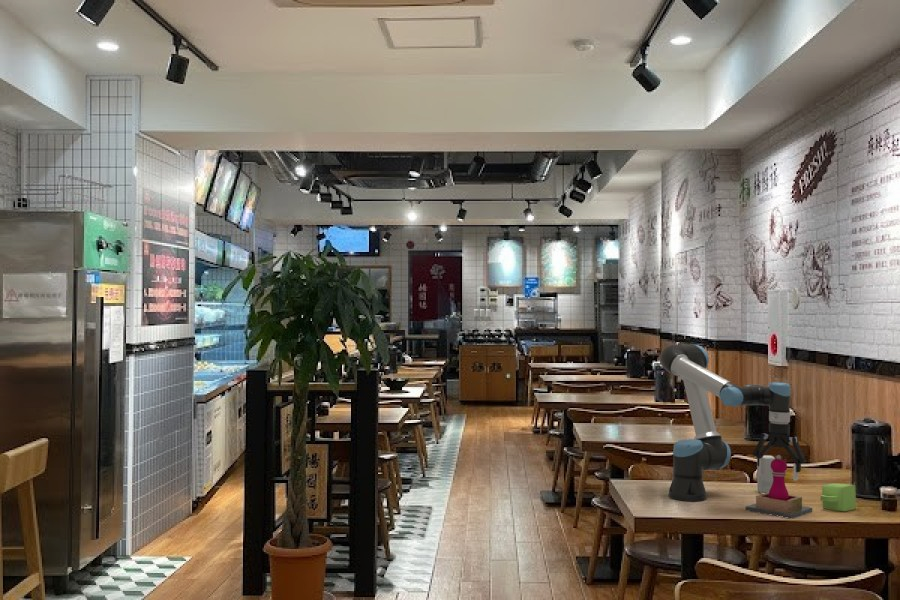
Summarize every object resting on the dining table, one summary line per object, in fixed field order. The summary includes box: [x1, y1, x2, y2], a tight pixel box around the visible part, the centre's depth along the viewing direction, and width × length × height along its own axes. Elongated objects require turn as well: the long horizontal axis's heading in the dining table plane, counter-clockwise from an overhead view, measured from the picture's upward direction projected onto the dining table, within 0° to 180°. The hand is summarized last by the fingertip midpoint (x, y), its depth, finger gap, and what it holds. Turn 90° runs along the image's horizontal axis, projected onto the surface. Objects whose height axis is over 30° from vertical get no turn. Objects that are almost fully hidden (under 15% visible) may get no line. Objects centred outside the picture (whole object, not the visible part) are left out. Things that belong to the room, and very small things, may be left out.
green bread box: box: [820, 483, 857, 512], centre depth 332 cm, size 18×10×10 cm, turn 130°
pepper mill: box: [769, 454, 790, 501], centre depth 325 cm, size 7×7×20 cm
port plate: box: [745, 493, 813, 519], centre depth 325 cm, size 18×18×6 cm
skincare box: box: [756, 455, 776, 494], centre depth 360 cm, size 8×7×16 cm
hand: (778, 477), depth 326 cm, fingers open, 13 cm apart
